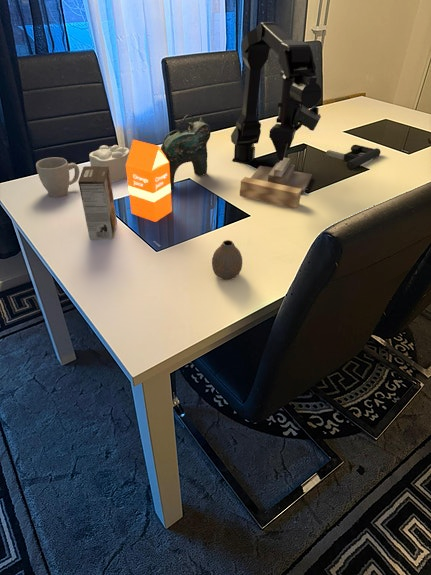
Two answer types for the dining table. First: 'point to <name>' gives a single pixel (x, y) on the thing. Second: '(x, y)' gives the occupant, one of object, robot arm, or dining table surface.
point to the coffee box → (98, 202)
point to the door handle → (356, 155)
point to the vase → (227, 261)
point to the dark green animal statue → (187, 148)
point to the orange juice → (148, 181)
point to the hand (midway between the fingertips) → (284, 154)
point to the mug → (56, 175)
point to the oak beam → (270, 192)
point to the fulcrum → (283, 175)
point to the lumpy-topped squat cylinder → (111, 160)
